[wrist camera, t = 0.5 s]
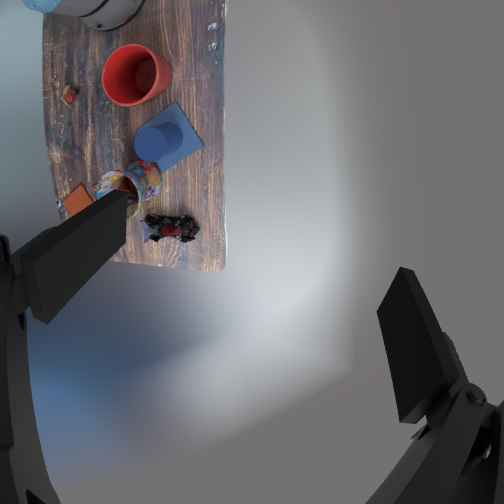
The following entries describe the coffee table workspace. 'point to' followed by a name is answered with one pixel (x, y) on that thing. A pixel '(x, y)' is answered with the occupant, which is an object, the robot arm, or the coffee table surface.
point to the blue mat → (189, 135)
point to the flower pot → (135, 75)
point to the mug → (132, 184)
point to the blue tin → (158, 141)
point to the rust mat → (77, 200)
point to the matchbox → (70, 94)
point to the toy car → (169, 227)
